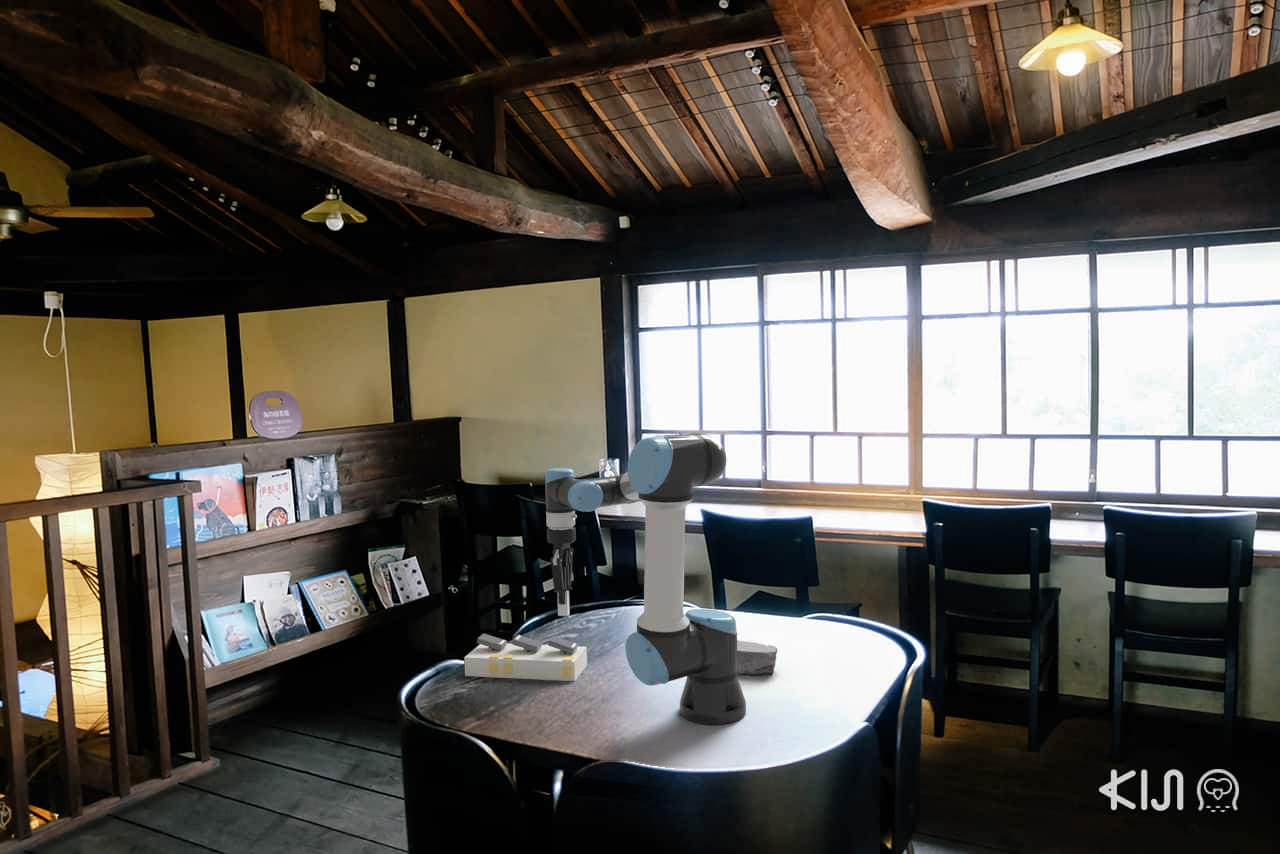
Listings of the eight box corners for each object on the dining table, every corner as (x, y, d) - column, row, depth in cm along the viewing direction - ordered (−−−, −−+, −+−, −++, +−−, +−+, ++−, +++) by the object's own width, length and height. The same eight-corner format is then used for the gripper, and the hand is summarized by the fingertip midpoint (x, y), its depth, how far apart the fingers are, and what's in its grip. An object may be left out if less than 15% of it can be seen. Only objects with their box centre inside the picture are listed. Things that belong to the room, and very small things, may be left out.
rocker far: (500, 650, 217) (502, 645, 217) (476, 643, 218) (477, 637, 218) (506, 645, 221) (507, 640, 221) (482, 638, 222) (483, 632, 222)
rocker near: (572, 654, 213) (574, 648, 213) (547, 645, 214) (549, 639, 214) (576, 648, 217) (578, 643, 217) (552, 640, 218) (554, 635, 218)
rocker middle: (536, 652, 215) (537, 646, 215) (512, 644, 216) (513, 638, 216) (541, 647, 219) (542, 641, 219) (517, 639, 220) (518, 634, 220)
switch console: (574, 681, 208) (573, 658, 207) (464, 676, 214) (463, 653, 213) (587, 664, 220) (586, 643, 219) (482, 660, 226) (482, 638, 225)
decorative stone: (719, 665, 217) (721, 677, 207) (719, 639, 217) (721, 651, 207) (775, 665, 217) (779, 677, 207) (774, 639, 216) (779, 650, 206)
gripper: (567, 532, 206) (570, 623, 208) (581, 522, 219) (584, 608, 221) (539, 531, 208) (542, 622, 210) (555, 522, 221) (558, 607, 222)
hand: (563, 614), depth 215 cm, fingers closed
